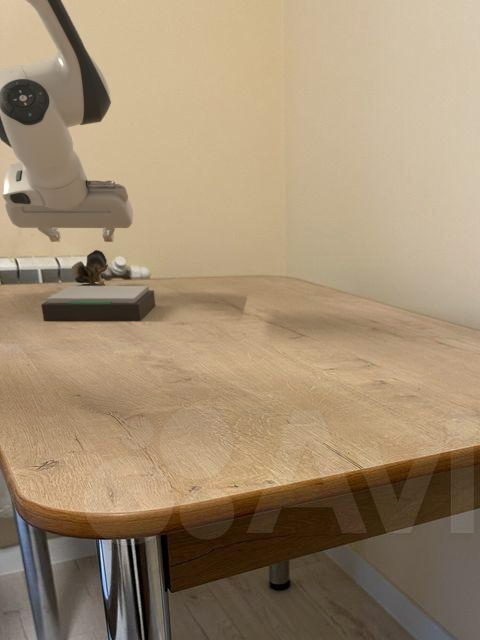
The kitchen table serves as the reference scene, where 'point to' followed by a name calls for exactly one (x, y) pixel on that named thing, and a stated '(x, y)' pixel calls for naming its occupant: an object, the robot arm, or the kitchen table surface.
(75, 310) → the scale
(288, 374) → the kitchen table surface
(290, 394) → the kitchen table surface
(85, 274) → the eagle figurine
